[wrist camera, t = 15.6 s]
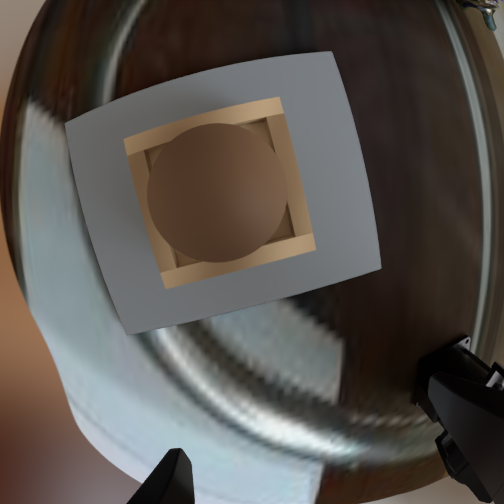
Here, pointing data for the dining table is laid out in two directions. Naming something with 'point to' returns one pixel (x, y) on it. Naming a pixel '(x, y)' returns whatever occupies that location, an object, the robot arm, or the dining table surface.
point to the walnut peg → (217, 192)
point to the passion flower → (482, 9)
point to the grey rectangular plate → (310, 168)
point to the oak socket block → (296, 212)
